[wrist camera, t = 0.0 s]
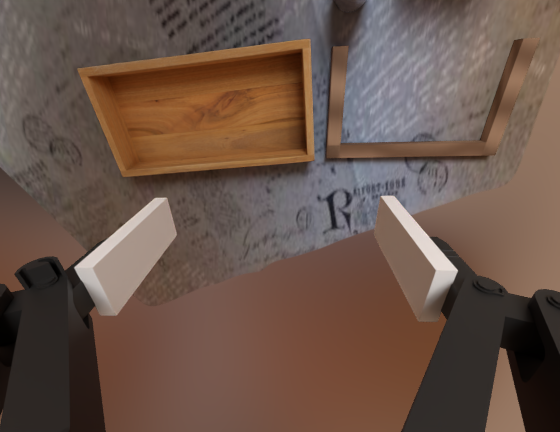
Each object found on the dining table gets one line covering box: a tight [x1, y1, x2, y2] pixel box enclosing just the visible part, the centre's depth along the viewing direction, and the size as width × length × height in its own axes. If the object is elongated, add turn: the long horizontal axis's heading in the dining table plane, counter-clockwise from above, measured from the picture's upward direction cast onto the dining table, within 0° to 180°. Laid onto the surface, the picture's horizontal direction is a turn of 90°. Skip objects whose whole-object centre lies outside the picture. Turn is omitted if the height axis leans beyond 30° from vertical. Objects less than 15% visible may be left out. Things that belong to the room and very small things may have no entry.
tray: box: [77, 39, 314, 177], centre depth 37 cm, size 31×15×6 cm, turn 96°
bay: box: [326, 38, 540, 158], centre depth 37 cm, size 15×26×2 cm, turn 92°
